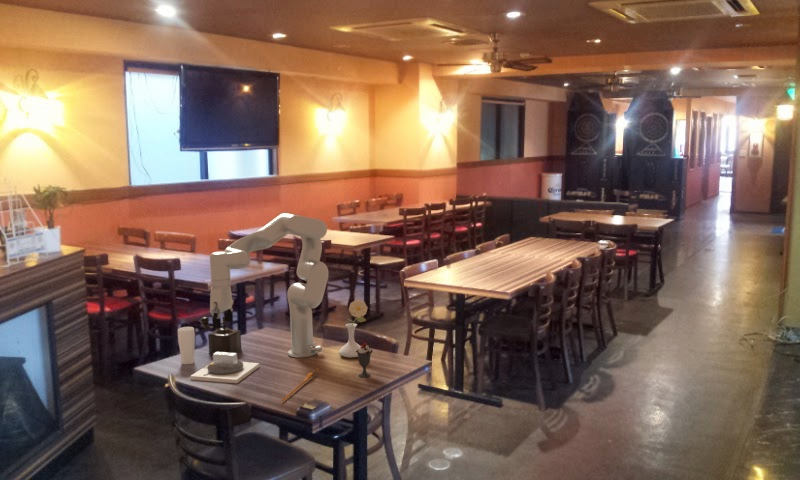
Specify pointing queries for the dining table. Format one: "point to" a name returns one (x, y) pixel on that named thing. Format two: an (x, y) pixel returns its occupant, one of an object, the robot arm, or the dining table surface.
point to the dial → (225, 363)
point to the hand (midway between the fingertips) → (223, 324)
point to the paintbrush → (301, 384)
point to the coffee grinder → (222, 338)
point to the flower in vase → (356, 310)
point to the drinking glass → (186, 344)
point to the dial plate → (227, 378)
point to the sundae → (364, 358)
